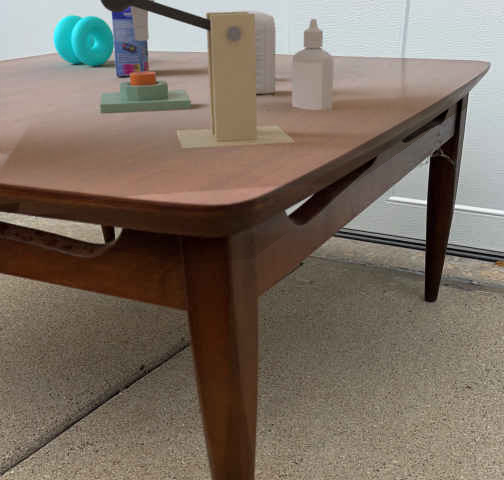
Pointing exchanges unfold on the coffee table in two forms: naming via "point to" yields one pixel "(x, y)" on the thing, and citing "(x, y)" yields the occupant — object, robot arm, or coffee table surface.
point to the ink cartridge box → (128, 45)
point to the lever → (158, 11)
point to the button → (143, 78)
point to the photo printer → (264, 52)
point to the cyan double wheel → (83, 40)
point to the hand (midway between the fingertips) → (142, 39)
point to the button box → (144, 98)
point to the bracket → (232, 87)
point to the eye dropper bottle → (312, 73)
